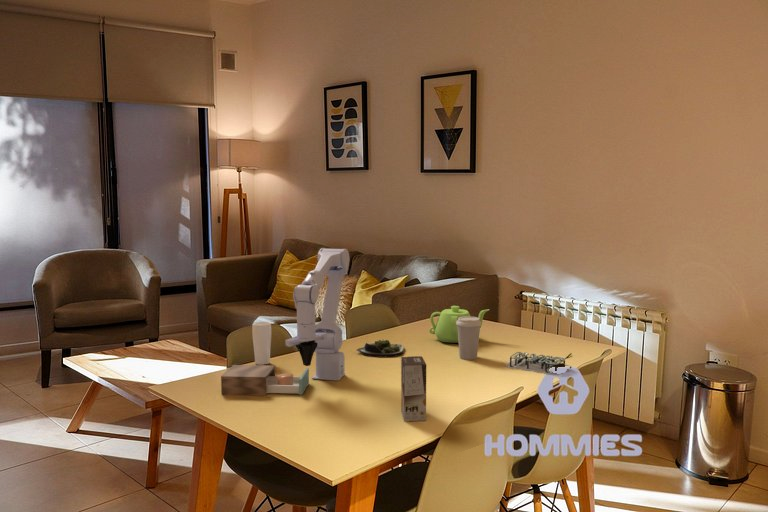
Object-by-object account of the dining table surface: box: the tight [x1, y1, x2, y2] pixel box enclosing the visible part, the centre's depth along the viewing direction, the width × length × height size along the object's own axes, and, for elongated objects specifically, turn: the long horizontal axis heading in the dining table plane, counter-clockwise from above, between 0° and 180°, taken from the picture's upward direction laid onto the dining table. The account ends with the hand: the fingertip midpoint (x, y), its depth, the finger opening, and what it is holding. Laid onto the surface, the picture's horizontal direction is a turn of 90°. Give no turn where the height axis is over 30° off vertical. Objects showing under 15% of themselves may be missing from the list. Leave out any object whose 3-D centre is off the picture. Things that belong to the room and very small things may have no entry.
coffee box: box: [400, 355, 427, 422], centre depth 185 cm, size 9×6×16 cm
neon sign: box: [504, 351, 572, 376], centre depth 241 cm, size 21×4×29 cm
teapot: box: [428, 305, 490, 344], centre depth 275 cm, size 19×20×14 cm
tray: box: [266, 367, 310, 396], centre depth 210 cm, size 14×13×5 cm
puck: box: [276, 373, 294, 385], centre depth 210 cm, size 5×5×4 cm
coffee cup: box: [456, 315, 483, 361], centre depth 247 cm, size 10×10×15 cm
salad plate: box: [356, 339, 405, 358], centre depth 258 cm, size 19×18×5 cm
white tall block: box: [251, 321, 272, 365], centre depth 239 cm, size 7×7×15 cm
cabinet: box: [220, 364, 276, 396], centre depth 210 cm, size 14×13×6 cm
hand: (306, 365), depth 207 cm, fingers closed
